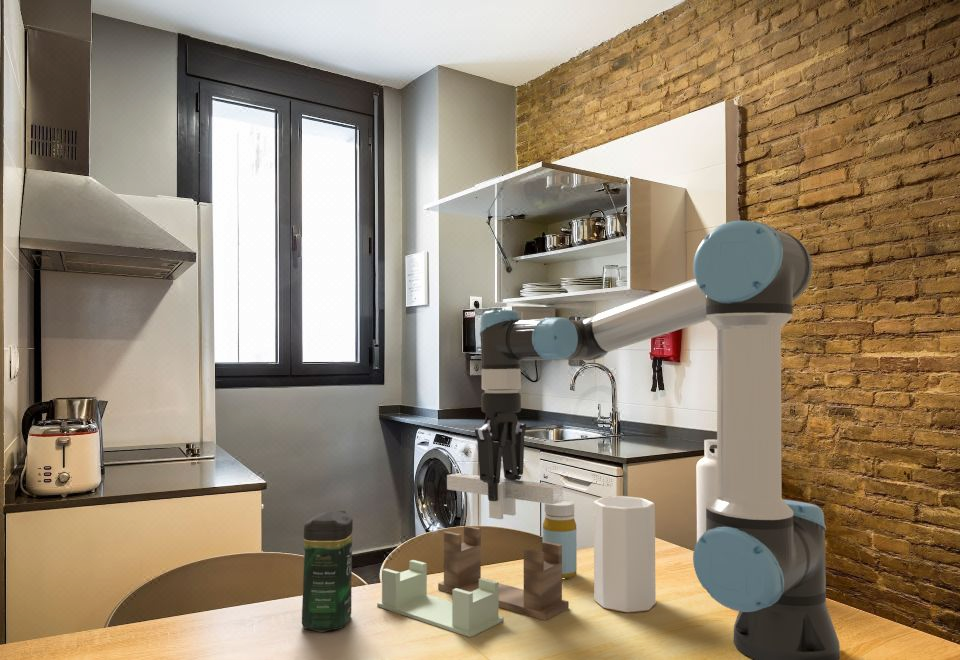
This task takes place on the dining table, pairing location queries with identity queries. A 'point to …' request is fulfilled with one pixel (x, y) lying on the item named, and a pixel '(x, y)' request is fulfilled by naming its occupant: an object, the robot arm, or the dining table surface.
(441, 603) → the rest
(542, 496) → the rail
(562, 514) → the bottle
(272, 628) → the dining table surface
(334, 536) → the coffee jar
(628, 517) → the cup
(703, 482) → the bottle
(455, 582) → the rack
